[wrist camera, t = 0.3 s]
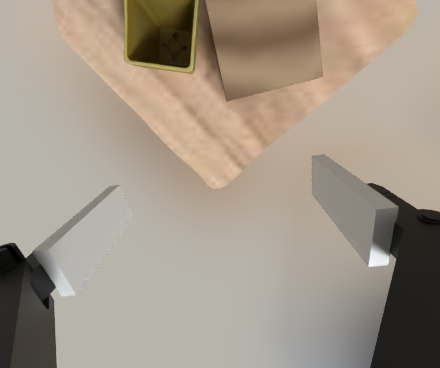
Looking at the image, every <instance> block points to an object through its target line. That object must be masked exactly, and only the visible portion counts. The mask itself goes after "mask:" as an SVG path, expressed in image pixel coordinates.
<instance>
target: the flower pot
mask: <svg viewBox="0 0 440 368" xmlns="http://www.w3.org/2000/svg"><path fill="white" fill-rule="evenodd" d="M198 22H199V0H124V59H125V62H126V63H127V64H131V65H135V66H140V67H144V68H152V69H160V70H168V71H175V72H181V73H187V74H192V73H194V70H195V57H196V44H197V33H198ZM174 34H177V38H174ZM164 44H166V46H167V47H166V48H164V47H163V45H164ZM184 47H186V48H187V50H186V51H184V50H183V48H184ZM173 57H175V58H176V61H173Z"/></svg>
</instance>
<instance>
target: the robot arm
mask: <svg viewBox="0 0 440 368" xmlns="http://www.w3.org/2000/svg"><path fill="white" fill-rule="evenodd" d="M312 195H313V196H314V197H315V199H316V200H317V201H318V202H319V204H320V205H321V206H322V208H323V209H324V210H325V212H326V213H327V214H328V215H329V217H330V218H331V219H332V221H333V222H334V223H335V224H336V225H337V227H338V228H339V230H340V231H341V232H342V233H343V235H344V236H345V237H346V238H347V240H348V241H349V242H350V244H351V245H352V246H353V248H354V249H355V250H356V251H357V253H358V254H359V255H360V257H361V258H362V259H363V260H364V262H365V263H366V264H367V266H368V267H371V266H381V265H388V263H389V258H390V253H391V254H392V255H393V256H394V257H395V258H396V264H395V268H394V272H393V276H392V280H391V284H390V288H389V292H388V296H387V301H386V305H385V309H384V313H383V317H382V321H381V325H380V330H379V334H378V338H377V342H376V346H375V351H374V354H373V359H372V363H371V367H370V368H440V212H438V211H433V210H426V209H419V210H418V209H416V208H415V207H413V206H412V205H410V204H409V203H407V202H405V201H404V200H402V199H401V198H399V197H397V196H396V195H394V194H393V193H391V192H390V191H388V190H387V189H385V188H384V187H382V186H379V185H376V184H373V183H370V184H366V183H364V182H363V181H361V180H360V179H358V178H357V177H356V176H354V175H353V174H351V173H350V172H348V171H347V170H346V169H344V168H343V167H341V166H340V165H339V164H337V163H336V162H334V161H333V160H331V159H330V158H329V157H327V156H326V155H324V154H323V155H317V156H312ZM132 218H133V217H132V215H131V212H130V210H129V207H128V204H127V202H126V200H125V197H124V194H123V192H122V189H121V187H120V185H116V186H110V187H108V188H107V189H106V190H105V191H104V192H102V193H101V194H100V195H99V196H98V197H96V198H95V199H94V200H93V201H92V202H90V203H89V204H88V205H87V206H86V207H85V208H83V209H82V210H81V211H80V212H79V213H77V214H76V215H75V216H74V217H73V218H72V219H70V220H69V221H68V222H67V223H65V224H64V225H63V226H62V227H61V228H60V229H58V230H57V231H56V232H55V233H54V234H52V235H51V236H50V237H49V238H48V239H47V240H45V241H44V242H43V243H42V244H41V245H39V246H38V247H37V248H36V249H35V250H33V253H31V254H30V255H29V256H28V257H27V258H25V257H24V255H23V254H22V253H21V251H20V250H19V248H18V247H17V245H16V244H15V243H9V244H5V245H2V246H0V368H57V364H56V342H55V341H56V340H55V317H54V300H53V298H52V296H51V295H50V293H51V292H52V291H53V290H54V289H55V288H56V289H57V290H58V292H59V293H60V295H61V296H72V295H77V293H78V292H79V291H80V290H81V288H82V287H83V285H84V284H85V283H86V281H87V280H88V279H89V277H90V276H91V274H92V273H93V272H94V270H95V269H96V268H97V266H98V265H99V263H100V262H101V261H102V259H103V258H104V256H105V255H106V254H107V252H108V251H109V250H110V248H111V247H112V246H113V244H114V243H115V241H116V240H117V238H118V237H119V236H120V235H121V233H122V232H123V230H124V229H125V228H126V226H127V225H128V224H129V222H130V221H131V220H132Z"/></svg>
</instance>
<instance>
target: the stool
mask: <svg viewBox="0 0 440 368" xmlns="http://www.w3.org/2000/svg"><path fill="white" fill-rule="evenodd" d="M205 2H206V7H207V12H208V16H209V21H210V26H211V30H212V35H213V40H214V45H215V49H216V54H217V59H218V63H219V68H220V73H221V77H222V82H223V87H224V91H225V96H226V101H231V100H235V99H239V98H243V97H247V96H250V95H254V94H258V93H262V92H266V91H270V90H274V89H278V88H282V87H286V86H290V85H294V84H298V83H302V82H306V81H310V80H314V79H317V78H320V77H323V72H322V60H321V49H320V37H319V26H318V15H317V3H316V0H205Z"/></svg>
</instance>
